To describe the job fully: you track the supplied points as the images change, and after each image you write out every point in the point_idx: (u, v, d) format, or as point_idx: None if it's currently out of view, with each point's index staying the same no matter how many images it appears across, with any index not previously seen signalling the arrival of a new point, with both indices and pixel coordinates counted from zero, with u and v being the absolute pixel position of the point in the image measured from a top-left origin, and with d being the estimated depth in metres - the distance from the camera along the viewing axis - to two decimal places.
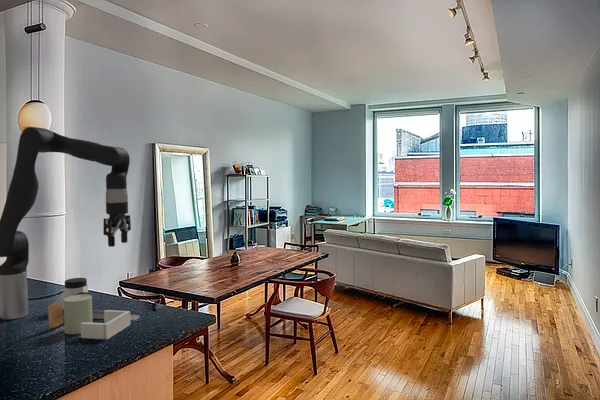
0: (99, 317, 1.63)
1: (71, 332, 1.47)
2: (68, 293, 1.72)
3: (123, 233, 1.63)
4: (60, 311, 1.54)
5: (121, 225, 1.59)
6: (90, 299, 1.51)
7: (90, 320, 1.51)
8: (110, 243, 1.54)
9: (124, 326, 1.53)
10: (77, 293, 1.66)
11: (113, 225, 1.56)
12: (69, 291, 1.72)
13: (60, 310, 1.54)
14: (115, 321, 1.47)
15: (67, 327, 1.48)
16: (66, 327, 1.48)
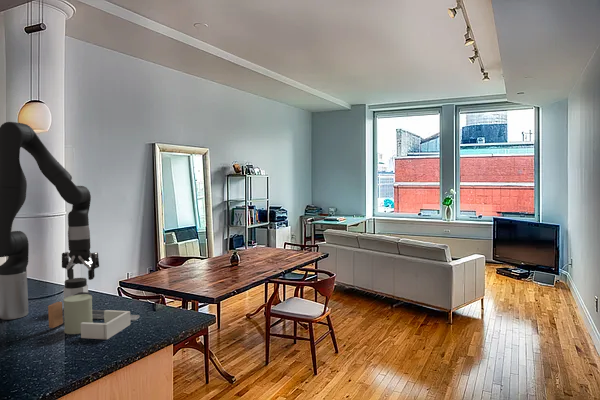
0: (99, 317, 1.63)
1: (71, 332, 1.47)
2: (68, 293, 1.72)
3: (71, 269, 1.65)
4: (60, 311, 1.54)
5: None
6: (90, 299, 1.51)
7: (90, 320, 1.51)
8: (93, 276, 1.64)
9: (124, 326, 1.53)
10: (77, 293, 1.66)
11: (87, 260, 1.64)
12: (69, 291, 1.72)
13: (60, 310, 1.54)
14: (115, 321, 1.47)
15: (67, 327, 1.48)
16: (66, 327, 1.48)
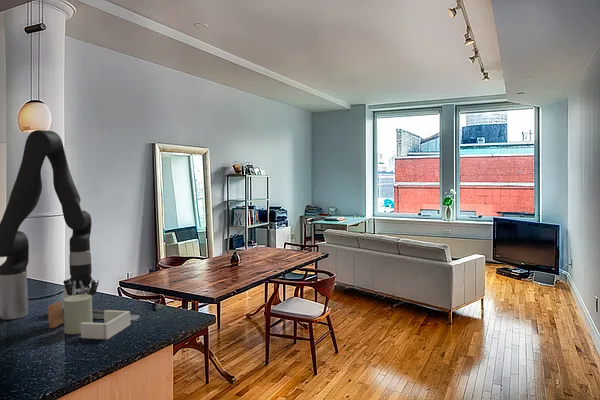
0: (99, 317, 1.63)
1: (71, 332, 1.47)
2: None
3: None
4: (60, 311, 1.54)
5: None
6: (90, 299, 1.51)
7: (90, 320, 1.51)
8: None
9: (124, 326, 1.53)
10: (77, 293, 1.66)
11: None
12: None
13: (60, 310, 1.54)
14: (115, 321, 1.47)
15: (67, 327, 1.48)
16: (66, 327, 1.48)
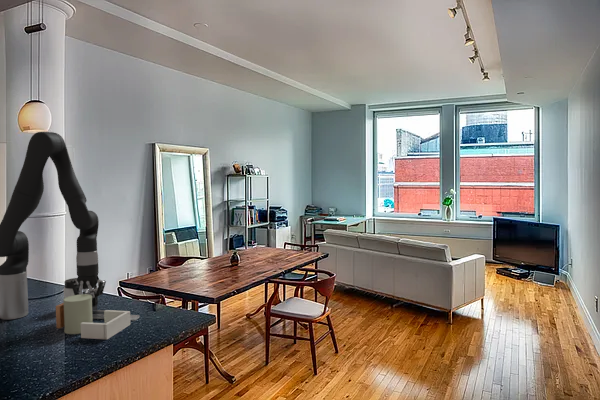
0: (99, 317, 1.63)
1: (71, 332, 1.47)
2: (68, 293, 1.72)
3: None
4: None
5: None
6: (90, 299, 1.51)
7: (90, 320, 1.51)
8: (96, 303, 1.65)
9: (124, 326, 1.53)
10: None
11: None
12: (69, 291, 1.72)
13: None
14: (115, 321, 1.47)
15: (67, 327, 1.48)
16: (66, 327, 1.48)
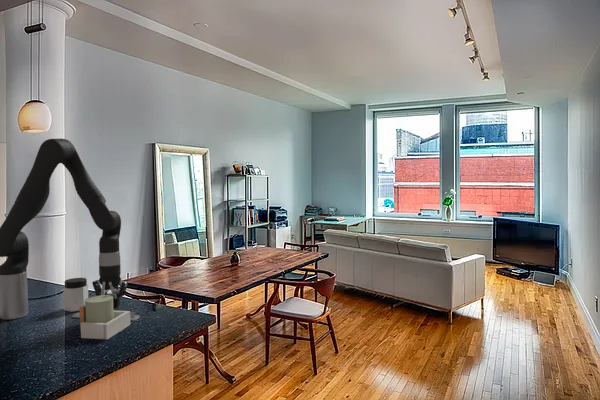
0: None
1: None
2: (68, 293, 1.72)
3: None
4: None
5: None
6: (111, 300, 1.50)
7: None
8: (118, 304, 1.63)
9: (124, 326, 1.53)
10: (106, 294, 1.64)
11: None
12: (69, 291, 1.72)
13: None
14: (115, 321, 1.47)
15: None
16: None
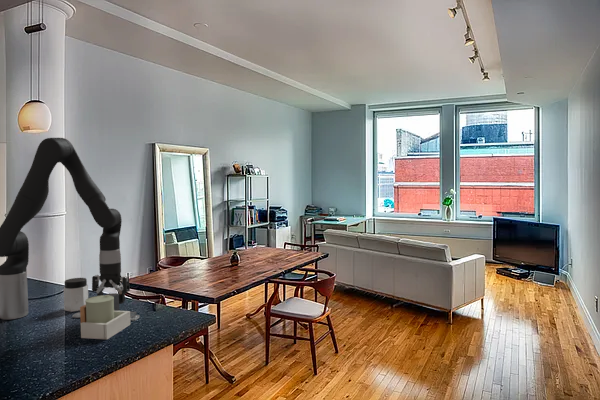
0: None
1: None
2: (68, 293, 1.72)
3: (101, 293, 1.64)
4: None
5: None
6: (112, 300, 1.50)
7: None
8: (123, 300, 1.63)
9: (124, 326, 1.53)
10: None
11: (117, 283, 1.63)
12: (69, 291, 1.72)
13: None
14: (115, 321, 1.47)
15: None
16: None
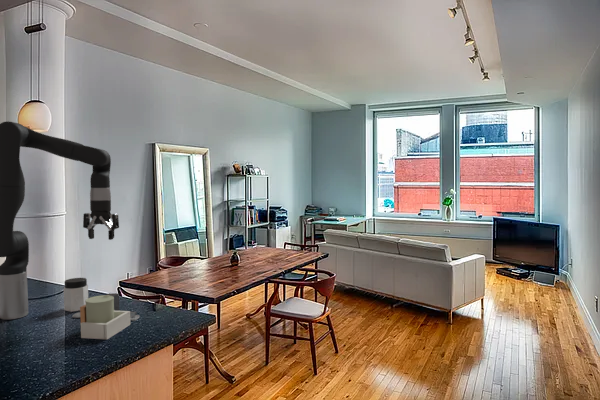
0: None
1: None
2: (68, 293, 1.72)
3: (91, 230, 1.72)
4: None
5: None
6: (112, 300, 1.50)
7: None
8: (113, 236, 1.71)
9: (124, 326, 1.53)
10: None
11: (107, 220, 1.71)
12: (69, 291, 1.72)
13: None
14: (115, 321, 1.47)
15: None
16: None
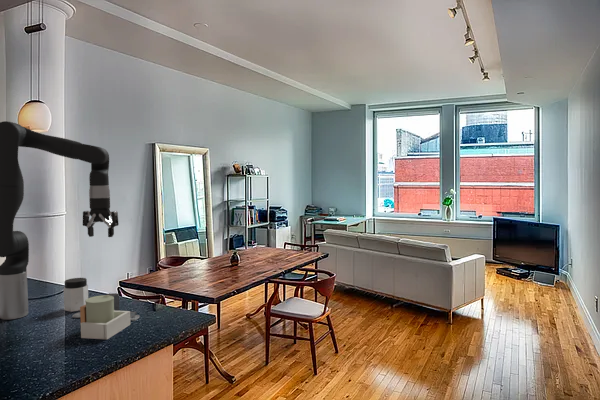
0: None
1: None
2: (68, 293, 1.72)
3: (91, 227, 1.73)
4: None
5: None
6: (112, 300, 1.50)
7: None
8: (112, 233, 1.72)
9: (124, 326, 1.53)
10: None
11: (107, 218, 1.72)
12: (69, 291, 1.72)
13: None
14: (115, 321, 1.47)
15: None
16: None
